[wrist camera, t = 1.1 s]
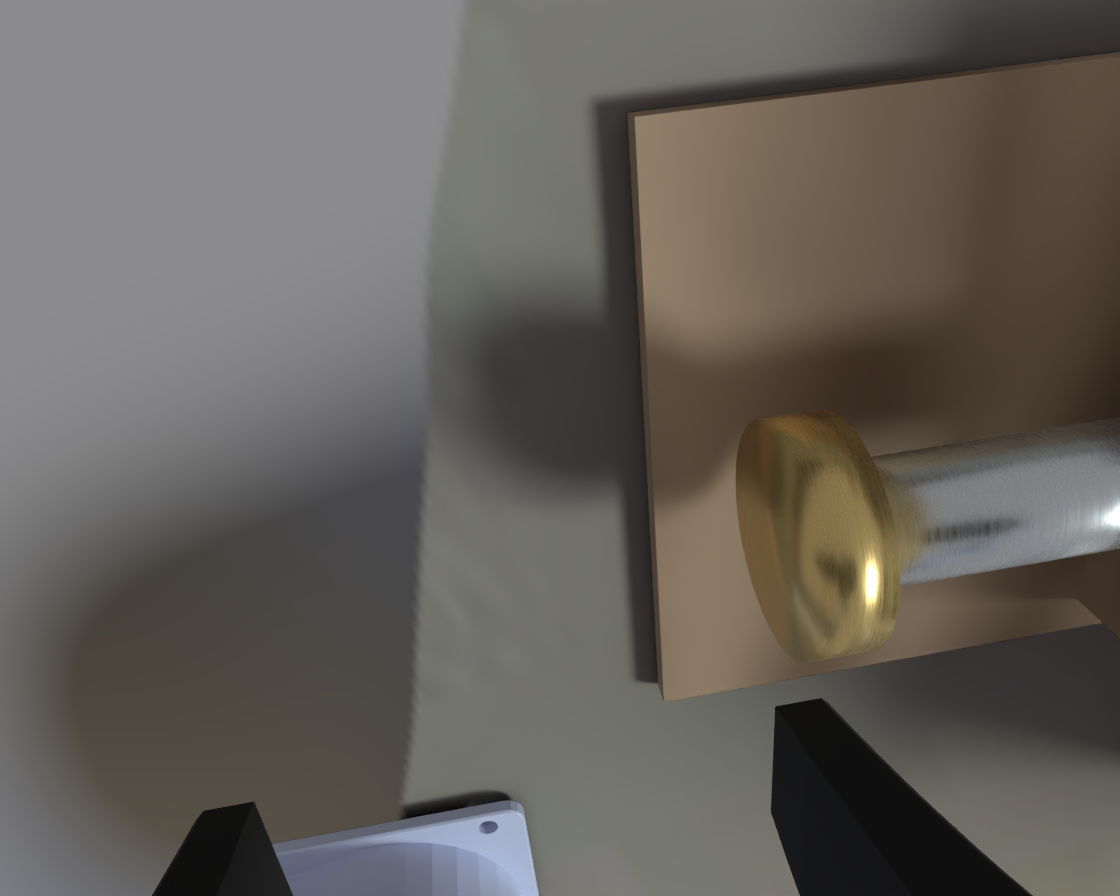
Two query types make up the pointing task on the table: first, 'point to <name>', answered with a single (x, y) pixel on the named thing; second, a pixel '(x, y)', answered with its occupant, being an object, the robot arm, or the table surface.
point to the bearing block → (871, 324)
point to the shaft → (907, 518)
